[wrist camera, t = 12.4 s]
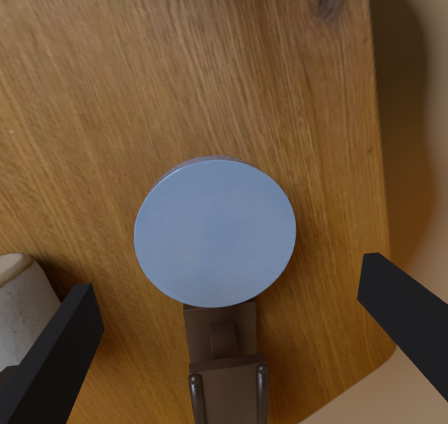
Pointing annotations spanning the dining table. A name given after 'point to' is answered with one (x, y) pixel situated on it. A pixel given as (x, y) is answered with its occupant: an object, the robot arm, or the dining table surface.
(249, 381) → the plate rack
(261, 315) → the dining table surface
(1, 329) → the ceramic mug
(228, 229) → the side plate
